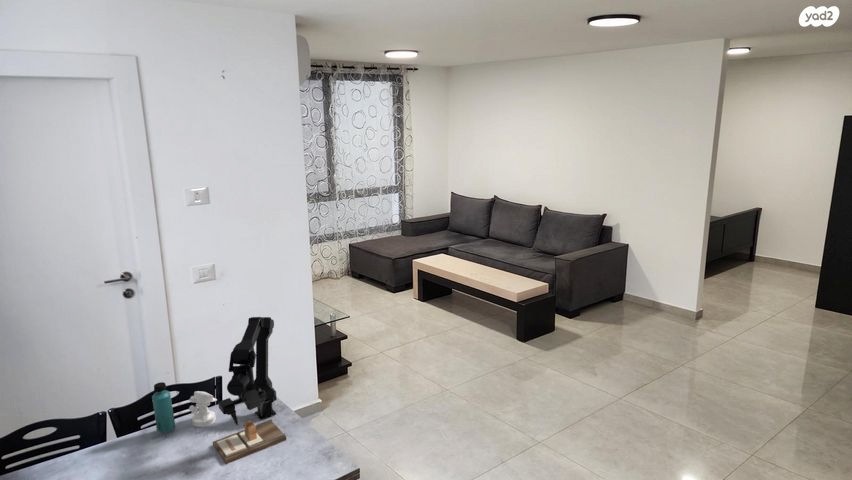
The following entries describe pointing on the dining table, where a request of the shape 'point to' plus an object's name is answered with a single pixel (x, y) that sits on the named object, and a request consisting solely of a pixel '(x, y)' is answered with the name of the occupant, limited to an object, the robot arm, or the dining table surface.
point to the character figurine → (202, 409)
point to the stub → (250, 434)
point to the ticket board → (238, 448)
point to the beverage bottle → (163, 408)
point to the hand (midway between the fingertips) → (249, 420)
